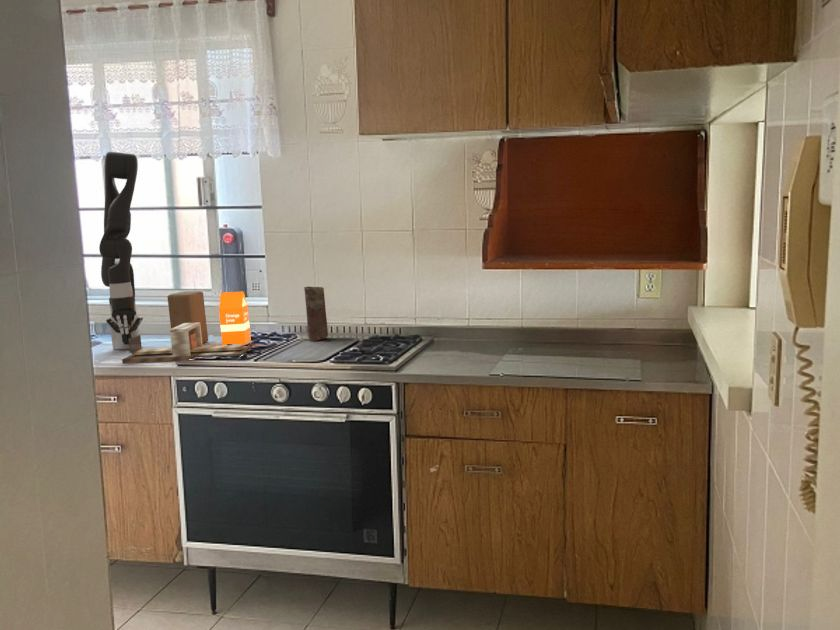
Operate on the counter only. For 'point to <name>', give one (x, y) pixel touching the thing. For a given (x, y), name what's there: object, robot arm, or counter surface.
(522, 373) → the counter surface
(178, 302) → the wooden block
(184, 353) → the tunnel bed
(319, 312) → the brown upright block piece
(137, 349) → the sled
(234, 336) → the orange juice
